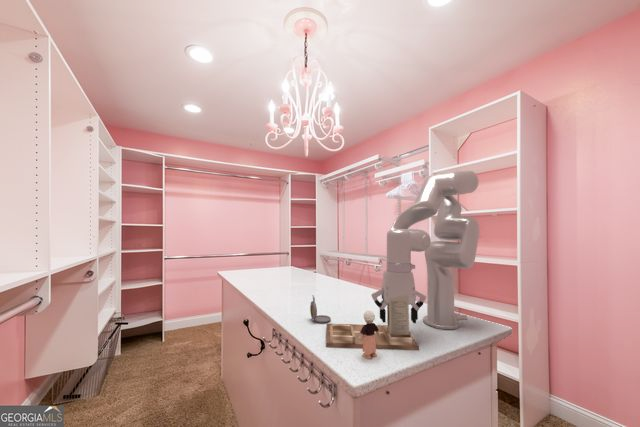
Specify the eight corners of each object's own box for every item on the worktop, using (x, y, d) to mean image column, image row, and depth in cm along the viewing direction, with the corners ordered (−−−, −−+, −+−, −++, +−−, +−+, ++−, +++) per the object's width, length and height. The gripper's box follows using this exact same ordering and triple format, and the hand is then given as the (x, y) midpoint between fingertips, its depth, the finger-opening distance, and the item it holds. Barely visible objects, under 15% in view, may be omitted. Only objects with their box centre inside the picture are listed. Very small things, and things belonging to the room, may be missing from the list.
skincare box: (406, 330, 86) (406, 292, 87) (409, 335, 82) (409, 295, 83) (386, 329, 87) (386, 291, 88) (388, 334, 83) (388, 294, 83)
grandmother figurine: (371, 349, 79) (371, 306, 80) (381, 354, 76) (382, 309, 77) (354, 357, 74) (355, 312, 74) (365, 363, 71) (366, 315, 72)
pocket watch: (334, 320, 103) (334, 294, 103) (320, 326, 96) (320, 298, 97) (318, 315, 108) (318, 290, 109) (303, 321, 102) (304, 294, 102)
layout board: (403, 329, 95) (403, 313, 96) (419, 350, 79) (419, 330, 80) (326, 326, 96) (326, 311, 96) (326, 347, 80) (326, 327, 80)
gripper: (421, 266, 89) (421, 318, 88) (369, 265, 90) (369, 316, 89) (429, 270, 82) (430, 326, 81) (373, 269, 82) (373, 325, 81)
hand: (398, 321), depth 85 cm, fingers open, 9 cm apart
